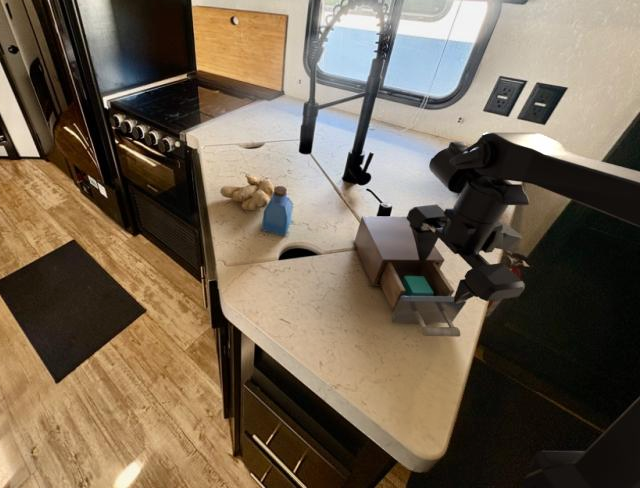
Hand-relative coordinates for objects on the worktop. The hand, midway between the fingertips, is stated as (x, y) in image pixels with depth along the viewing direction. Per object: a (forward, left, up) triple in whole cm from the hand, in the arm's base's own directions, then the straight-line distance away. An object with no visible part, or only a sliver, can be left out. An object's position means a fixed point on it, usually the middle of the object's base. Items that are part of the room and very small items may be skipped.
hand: (438, 280), depth 55 cm
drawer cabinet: (+11, -10, -12) cm, 18 cm away
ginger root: (+49, -3, -12) cm, 51 cm away
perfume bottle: (+37, +1, -12) cm, 39 cm away
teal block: (+3, -2, -10) cm, 10 cm away
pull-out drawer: (+2, -2, -11) cm, 11 cm away
